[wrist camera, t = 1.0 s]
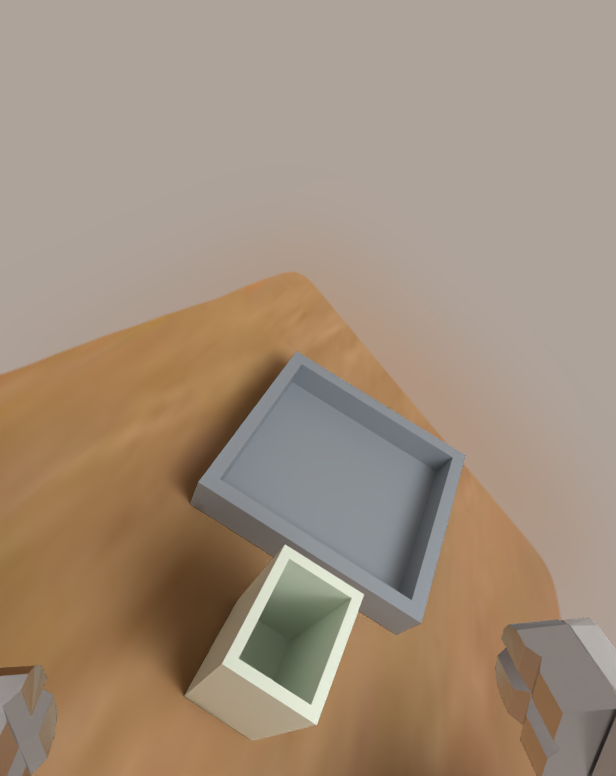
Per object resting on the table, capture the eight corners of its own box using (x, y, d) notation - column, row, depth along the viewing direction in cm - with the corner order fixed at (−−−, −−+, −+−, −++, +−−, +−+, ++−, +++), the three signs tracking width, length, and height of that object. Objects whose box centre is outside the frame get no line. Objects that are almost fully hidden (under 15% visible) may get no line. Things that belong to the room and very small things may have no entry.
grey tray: (189, 503, 41) (198, 482, 38) (284, 375, 53) (296, 351, 50) (396, 635, 40) (421, 623, 37) (443, 473, 52) (465, 455, 49)
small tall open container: (183, 696, 33) (221, 663, 24) (236, 600, 37) (284, 544, 29) (252, 741, 32) (316, 725, 24) (297, 639, 37) (364, 594, 28)
